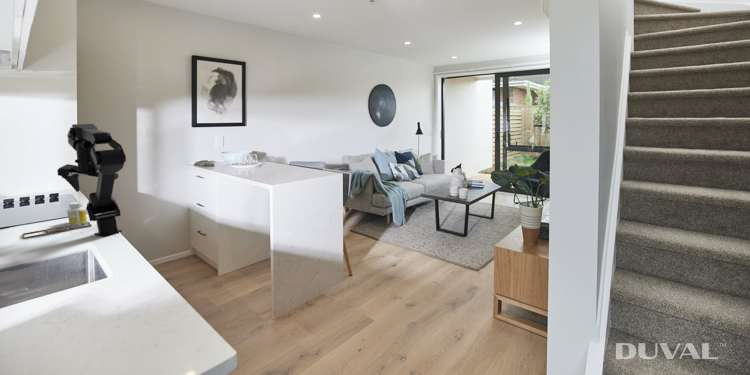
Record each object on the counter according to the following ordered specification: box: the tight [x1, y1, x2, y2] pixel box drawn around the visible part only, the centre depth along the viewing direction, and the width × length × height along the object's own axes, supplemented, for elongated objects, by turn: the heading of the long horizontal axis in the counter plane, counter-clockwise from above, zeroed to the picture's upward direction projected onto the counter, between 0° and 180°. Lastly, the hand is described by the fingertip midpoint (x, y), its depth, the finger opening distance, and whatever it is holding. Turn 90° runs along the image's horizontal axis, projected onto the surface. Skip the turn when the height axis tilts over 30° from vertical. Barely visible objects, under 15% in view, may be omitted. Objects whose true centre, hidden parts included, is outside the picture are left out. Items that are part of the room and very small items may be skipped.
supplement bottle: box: [67, 201, 88, 228], centre depth 147 cm, size 5×5×10 cm
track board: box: [22, 221, 93, 240], centre depth 143 cm, size 20×7×1 cm, turn 135°
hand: (90, 193), depth 145 cm, fingers open, 9 cm apart
